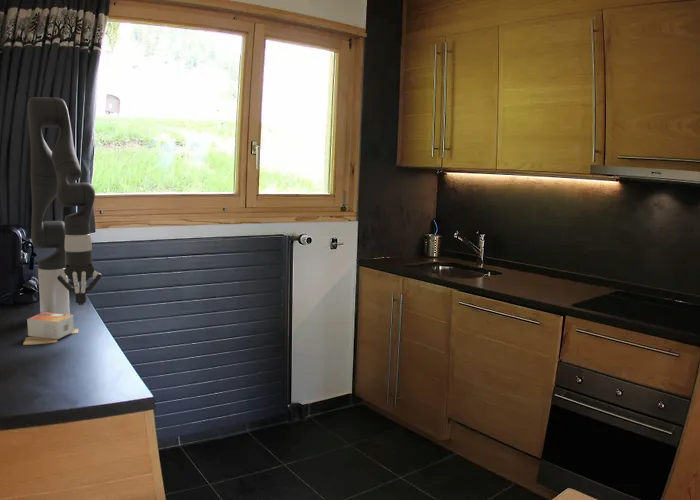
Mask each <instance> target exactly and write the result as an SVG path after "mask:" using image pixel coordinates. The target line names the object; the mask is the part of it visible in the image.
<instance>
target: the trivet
mask: <svg viewBox="0 0 700 500" xmlns="http://www.w3.org/2000/svg"><path fill="white" fill-rule="evenodd" d="M58 340H59V339H51V338H42V337H33V336H28V337H27V336H26V337H25V339H24V341H23V343H22V344H23V346H29V345H31V346H32V345H43V344H45V345H46V344H56V343H58Z"/></svg>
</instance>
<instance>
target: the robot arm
mask: <svg viewBox="0 0 700 500" xmlns="http://www.w3.org/2000/svg"><path fill="white" fill-rule="evenodd" d="M27 121H28V122H27V123H28V130H29V131H28V132H29V133H28V134H29V143H30V190H31V224H30V225H31V227H30V228H31V230H30V237H31V238H30V239H31V244H32V246H33V248H35V249H39V250H41V249H55V251H54V252H52V253H51V254H49V255H47V256H44V257H41V258H39V259H38V261H37V270H38V272H37V273H38V289H39V291H38V292H39V306H40V307H39V312H40V313H42V312H49V313H58V314H67V315H71V312H70V311H71V309H70V293H71V292H72V293H73V294H74V295H75V303H76V304H77V305H78V306H84V305H85V304H86V302H87V296H86V295H87V294H86V293H87V292H90V291H92V289H93V288H95V286H96V284H97V283H98V282H99V281H100V279H101V278H102V273H100V272H98V271H96V270H95V266H94V265H93V246H92V244H93V243H92V242H93V241H92V237H91V236H92V235H91V215H92V210H93V207H94V203H95V199H96V198H95V197H96V191H95V188H94V186H93V185H92V184H91V183H90V182H84V181H83V182H76V181H77V180H79V179H81V177H82V169H81V166H80V162H79V160H78V157H77V154H76V149H75V145H74V137H73V136H74V135H73V130H72V125H71V119H70V114H69V109H68V107H67V103H66V102H65V100H64V99H62V98H60V97H49V96H48V97H43V96H42V97H41V96H40V97H39V96H34V97H29V99H28V102H27ZM43 128H59V136H58V138H57V140H56V142H55V144H54V145H53V146H54V147H53V149H52V150H51V149H50V147H49V145H48V144H47V142H46V141H45V139H44V135H43V130H42V129H43ZM55 198H56V200H57V202H58V203H59V204H60V205H62V206H63V207H79V209H78V211H77V212H74V213H71V214H67V215H65V217H64V221H62V220H45V221H44V217H45V214H46V211H48V210H47V209H48V208H49V206H50V205H51V203H53V201H54V200H55ZM91 277H92V280H91V282H90V283H89V284H88V285H87V281H88V280H89V279H90V278H91ZM69 280H70V281H71V282H73V285H72V284H71V283H70V282H69ZM80 283H81V284H80ZM40 313H39V314H40Z"/></svg>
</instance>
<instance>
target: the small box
mask: <svg viewBox="0 0 700 500" xmlns="http://www.w3.org/2000/svg"><path fill="white" fill-rule="evenodd" d="M26 321H27V336H28V337H42V338H51V339H58V340H59V339H61V338H64V337H66V336H68V335H70V334H69V333H71V332H73V331H74V329H75V327H74V326H75V325H74V314H70V315H67V314H58V313H49V312H42V313H38V314H35V315H34V316H33V315H32V316H31V317H28V318H27V319H26Z"/></svg>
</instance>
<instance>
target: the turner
mask: <svg viewBox="0 0 700 500" xmlns="http://www.w3.org/2000/svg"><path fill="white" fill-rule="evenodd" d="M75 334H79V328H74V331H73V332H71V333H69V334H68V335H75Z"/></svg>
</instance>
